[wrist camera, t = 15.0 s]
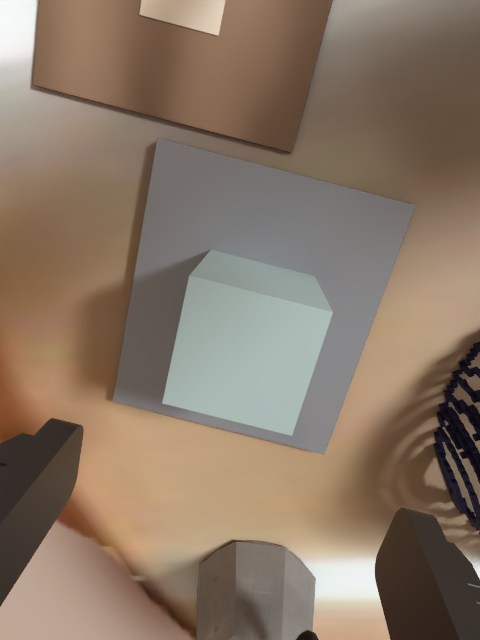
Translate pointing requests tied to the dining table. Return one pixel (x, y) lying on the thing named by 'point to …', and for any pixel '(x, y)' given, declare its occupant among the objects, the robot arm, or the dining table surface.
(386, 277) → the slate plate
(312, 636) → the coffeepot
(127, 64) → the brown coaster
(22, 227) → the dining table surface
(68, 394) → the dining table surface
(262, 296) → the pale green block
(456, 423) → the decorative bowl
